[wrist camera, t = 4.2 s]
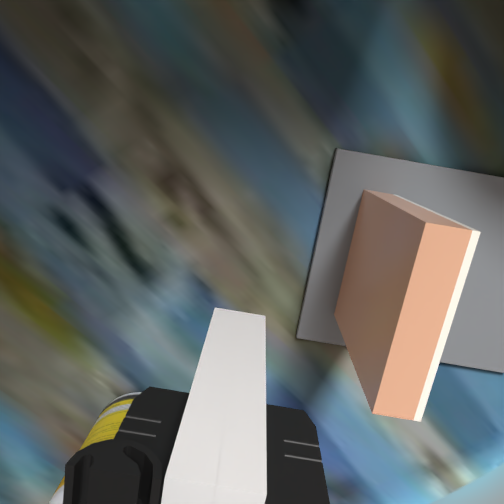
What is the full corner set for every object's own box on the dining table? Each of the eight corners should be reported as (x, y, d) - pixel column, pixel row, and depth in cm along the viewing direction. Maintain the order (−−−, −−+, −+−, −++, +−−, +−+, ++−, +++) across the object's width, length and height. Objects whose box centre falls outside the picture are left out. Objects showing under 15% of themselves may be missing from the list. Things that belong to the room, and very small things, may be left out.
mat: (296, 334, 28) (296, 337, 28) (336, 148, 25) (337, 148, 24) (505, 369, 28) (509, 373, 28) (571, 189, 25) (577, 190, 25)
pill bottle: (82, 411, 30) (-27, 574, 19) (160, 372, 29) (94, 520, 18) (132, 479, 31) (59, 669, 20) (208, 444, 30) (175, 624, 19)
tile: (333, 314, 27) (372, 413, 17) (363, 189, 25) (426, 222, 15) (365, 319, 27) (420, 421, 17) (397, 195, 25) (480, 231, 15)
